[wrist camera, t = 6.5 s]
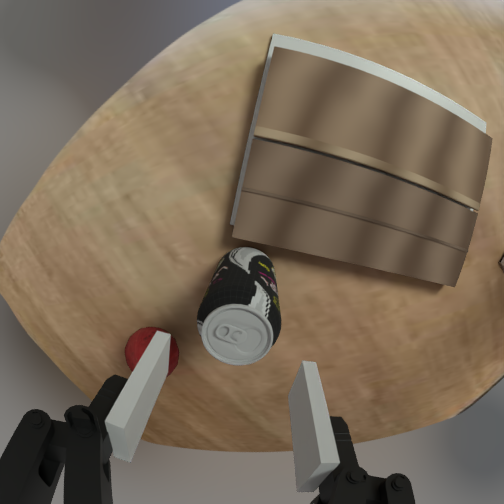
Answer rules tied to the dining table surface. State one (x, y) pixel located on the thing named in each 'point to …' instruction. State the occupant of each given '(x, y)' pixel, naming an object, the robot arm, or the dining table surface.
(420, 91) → the underlay mat
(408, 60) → the dining table surface
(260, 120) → the plank
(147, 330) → the pomegranate
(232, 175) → the dining table surface
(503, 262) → the wooden fragment
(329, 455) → the robot arm
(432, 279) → the laid board
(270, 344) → the beverage can
